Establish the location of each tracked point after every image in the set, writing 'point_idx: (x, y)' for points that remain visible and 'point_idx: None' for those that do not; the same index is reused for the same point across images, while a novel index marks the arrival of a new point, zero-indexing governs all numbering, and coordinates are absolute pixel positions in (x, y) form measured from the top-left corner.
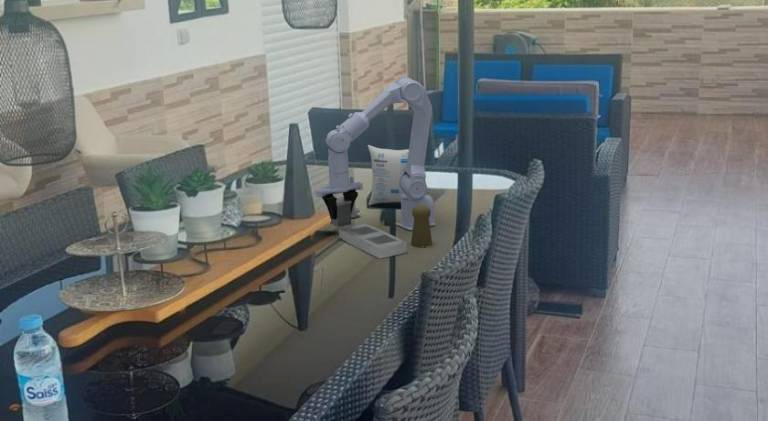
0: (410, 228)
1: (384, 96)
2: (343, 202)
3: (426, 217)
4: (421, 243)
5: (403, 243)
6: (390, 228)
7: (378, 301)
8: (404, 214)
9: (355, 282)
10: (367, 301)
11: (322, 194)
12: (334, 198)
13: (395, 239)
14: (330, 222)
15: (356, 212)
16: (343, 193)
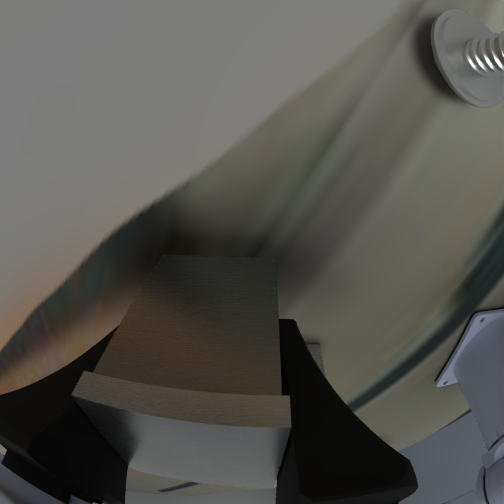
0: (443, 382)
1: None
2: (194, 478)
3: None
4: None
5: (274, 486)
6: (431, 337)
7: (143, 487)
8: (473, 394)
9: (130, 468)
10: (132, 483)
11: (3, 471)
12: (103, 501)
13: (276, 478)
14: (161, 258)
15: (476, 105)
16: (296, 482)
